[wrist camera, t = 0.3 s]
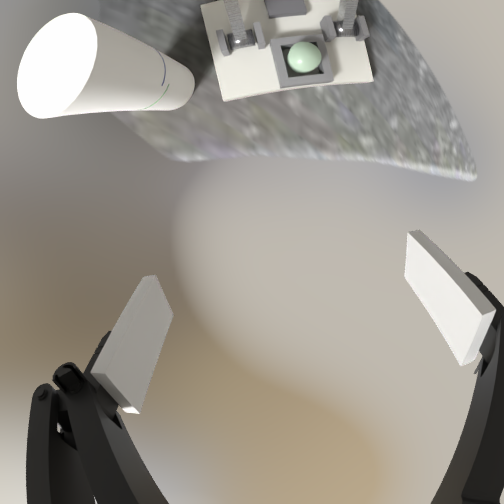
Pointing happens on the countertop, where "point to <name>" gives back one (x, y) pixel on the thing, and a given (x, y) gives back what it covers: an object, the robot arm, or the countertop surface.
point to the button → (303, 57)
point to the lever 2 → (346, 19)
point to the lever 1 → (237, 27)
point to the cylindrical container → (97, 71)
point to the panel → (284, 47)
